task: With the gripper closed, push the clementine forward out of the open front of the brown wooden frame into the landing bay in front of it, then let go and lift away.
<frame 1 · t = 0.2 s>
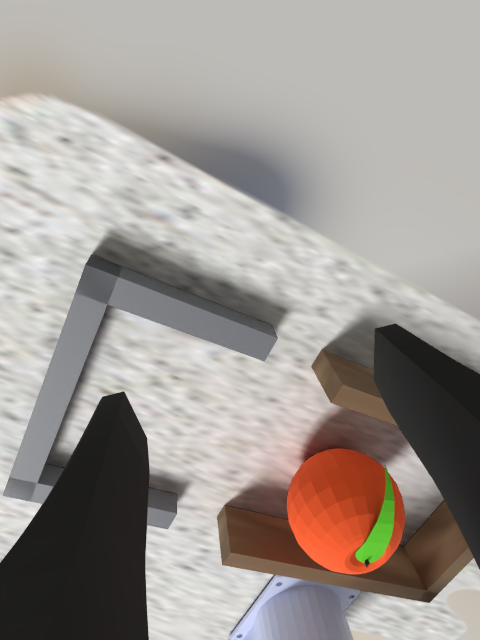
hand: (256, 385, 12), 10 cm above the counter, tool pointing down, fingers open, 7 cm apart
brown wooden frame: (364, 470, 29), on the counter
clementine: (327, 457, 29), on the counter
landing bay: (136, 403, 24), on the counter
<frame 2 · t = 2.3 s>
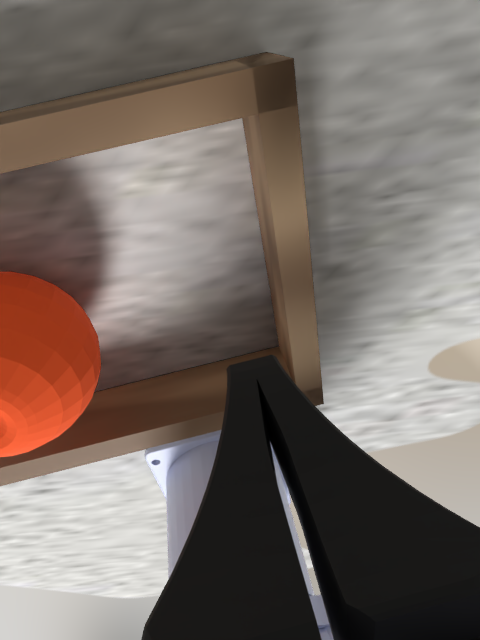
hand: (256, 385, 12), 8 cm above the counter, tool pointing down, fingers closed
brown wooden frame: (87, 287, 19), on the counter
clementine: (21, 300, 19), on the counter
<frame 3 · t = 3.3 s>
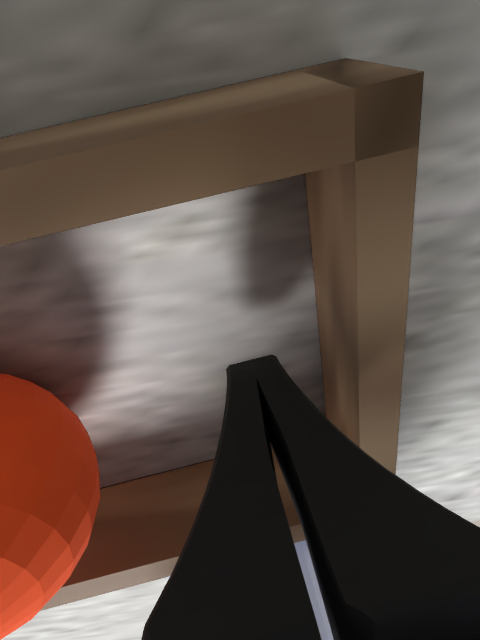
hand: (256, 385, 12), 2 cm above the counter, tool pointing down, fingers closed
brown wooden frame: (81, 374, 14), on the counter
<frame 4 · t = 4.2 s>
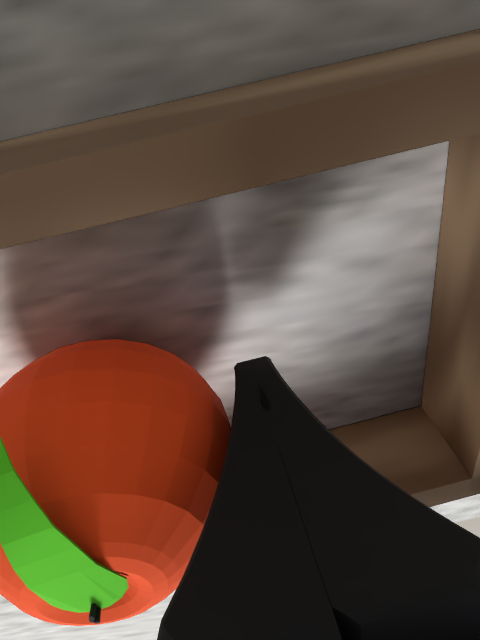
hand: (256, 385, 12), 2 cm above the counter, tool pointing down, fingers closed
brown wooden frame: (203, 345, 14), on the counter
clementine: (111, 364, 14), on the counter, touching gripper
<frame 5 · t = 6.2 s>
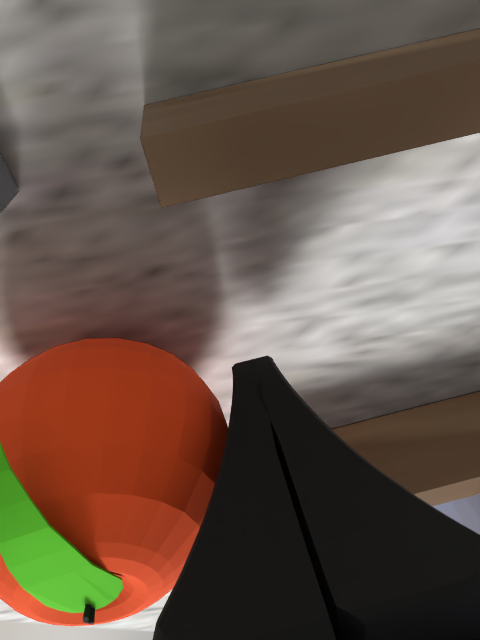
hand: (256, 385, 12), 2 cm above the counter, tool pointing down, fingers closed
brown wooden frame: (442, 285, 14), on the counter
clementine: (108, 363, 14), on the counter, touching gripper
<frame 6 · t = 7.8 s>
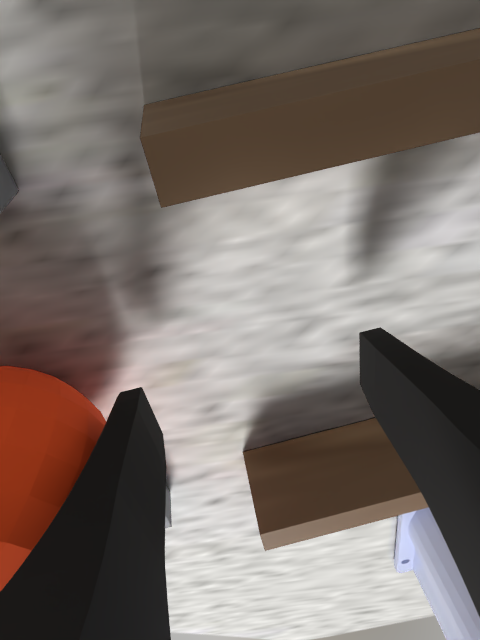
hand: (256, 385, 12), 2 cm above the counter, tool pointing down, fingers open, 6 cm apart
brown wooden frame: (442, 285, 14), on the counter
clementine: (14, 387, 14), on the counter, touching gripper
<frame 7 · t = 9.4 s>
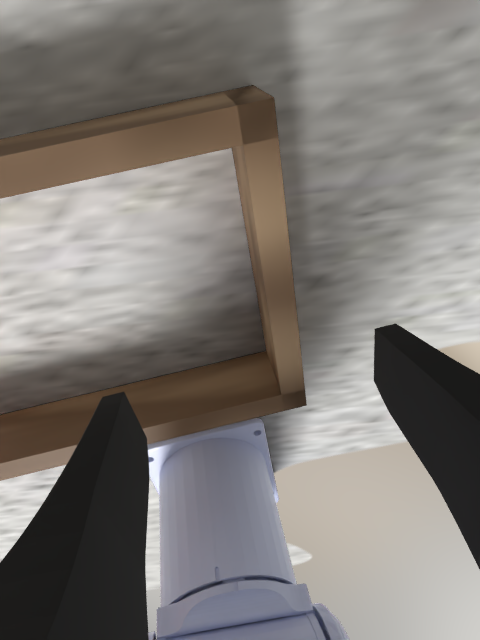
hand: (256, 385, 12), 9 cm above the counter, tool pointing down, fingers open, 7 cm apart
brown wooden frame: (86, 295, 20), on the counter
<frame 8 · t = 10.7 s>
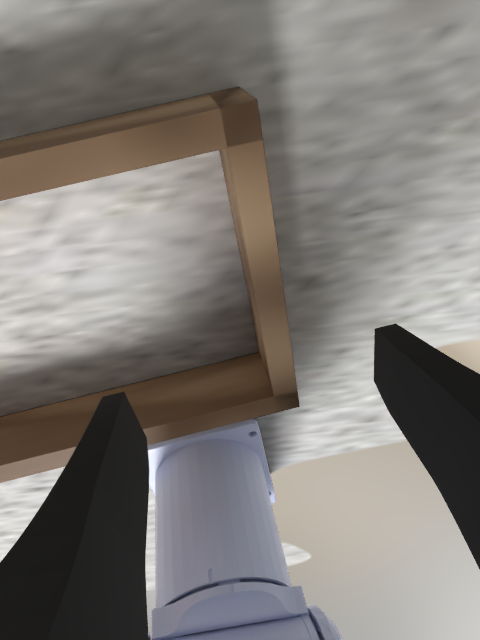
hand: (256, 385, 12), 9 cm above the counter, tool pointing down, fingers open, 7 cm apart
brown wooden frame: (77, 299, 20), on the counter
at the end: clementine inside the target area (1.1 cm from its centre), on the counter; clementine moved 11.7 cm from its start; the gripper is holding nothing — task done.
